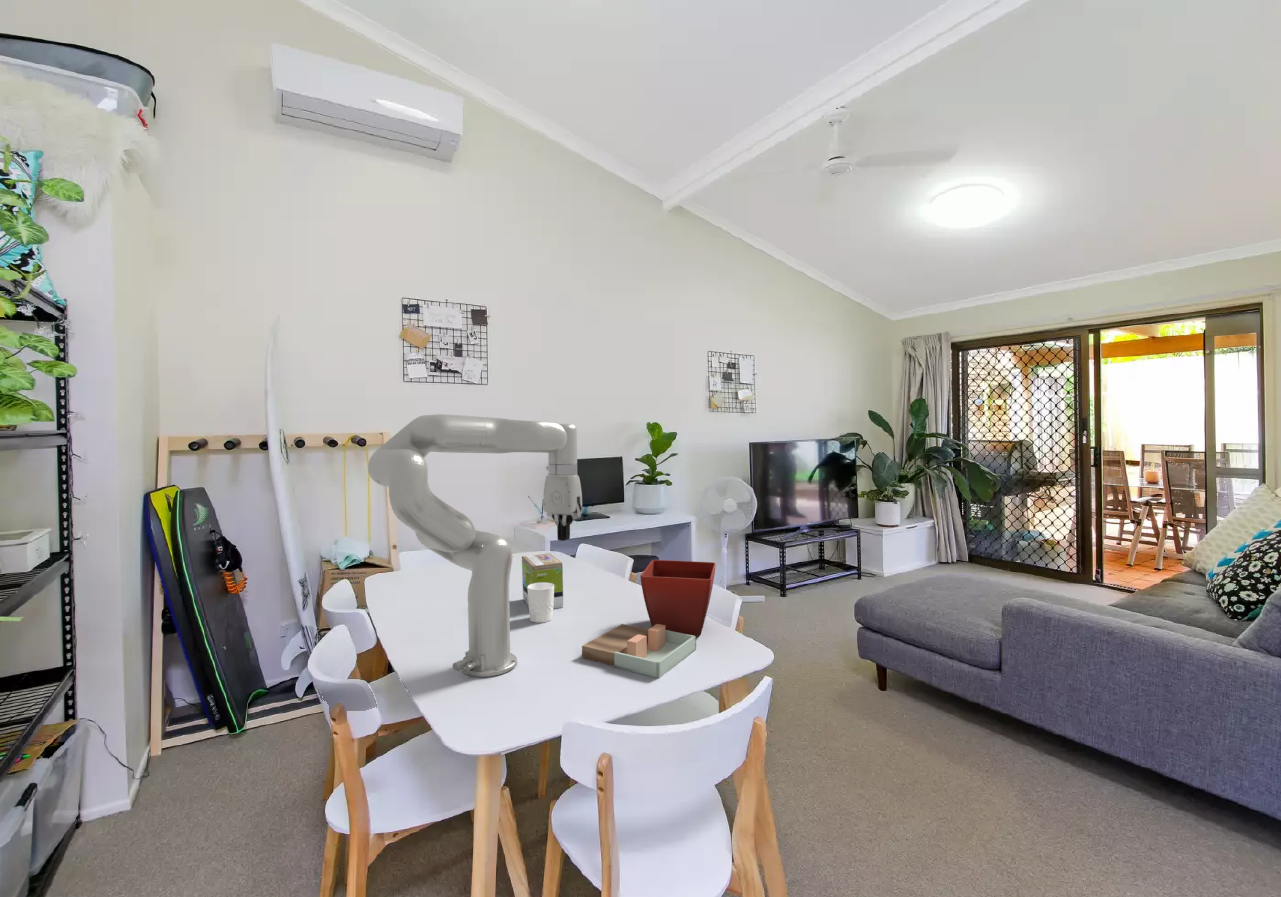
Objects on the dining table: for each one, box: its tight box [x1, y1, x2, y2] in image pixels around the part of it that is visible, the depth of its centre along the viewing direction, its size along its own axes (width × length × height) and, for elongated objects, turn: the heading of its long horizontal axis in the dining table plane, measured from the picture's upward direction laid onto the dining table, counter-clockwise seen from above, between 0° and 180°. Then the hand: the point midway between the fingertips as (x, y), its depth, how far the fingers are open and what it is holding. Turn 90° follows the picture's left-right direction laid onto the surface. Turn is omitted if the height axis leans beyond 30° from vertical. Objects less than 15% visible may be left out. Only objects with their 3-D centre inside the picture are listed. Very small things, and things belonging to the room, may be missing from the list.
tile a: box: [627, 634, 647, 658], centre depth 137 cm, size 5×5×2 cm
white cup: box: [527, 582, 554, 624], centre depth 169 cm, size 8×8×10 cm
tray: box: [614, 630, 697, 679], centre depth 139 cm, size 19×12×4 cm, turn 149°
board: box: [581, 623, 650, 667], centre depth 145 cm, size 18×10×3 cm, turn 149°
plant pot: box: [640, 559, 717, 637], centre depth 160 cm, size 19×19×17 cm
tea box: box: [521, 552, 564, 610], centre depth 184 cm, size 15×10×15 cm, turn 25°
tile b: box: [648, 624, 666, 651], centre depth 145 cm, size 5×5×2 cm
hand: (563, 539), depth 151 cm, fingers closed
